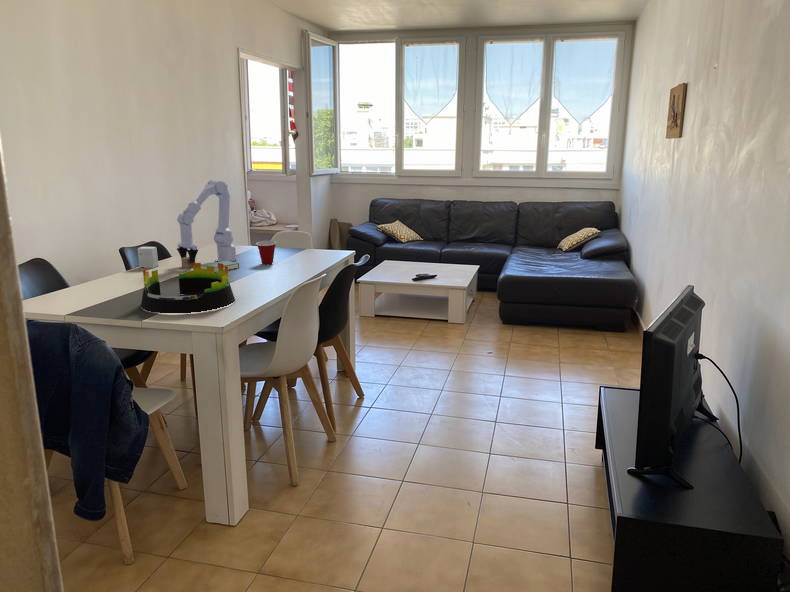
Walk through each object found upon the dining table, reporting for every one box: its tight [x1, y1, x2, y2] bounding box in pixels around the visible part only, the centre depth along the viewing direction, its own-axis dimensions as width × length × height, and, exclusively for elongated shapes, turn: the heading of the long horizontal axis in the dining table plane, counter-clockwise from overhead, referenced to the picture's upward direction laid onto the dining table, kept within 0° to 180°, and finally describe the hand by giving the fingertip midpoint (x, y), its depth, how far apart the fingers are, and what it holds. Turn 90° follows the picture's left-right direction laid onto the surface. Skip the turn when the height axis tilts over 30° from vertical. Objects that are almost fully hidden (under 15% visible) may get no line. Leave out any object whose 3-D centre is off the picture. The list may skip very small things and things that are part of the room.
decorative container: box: [140, 262, 236, 313], centre depth 249 cm, size 37×37×15 cm
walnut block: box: [180, 256, 193, 269], centre depth 325 cm, size 5×5×5 cm
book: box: [201, 260, 240, 273], centre depth 320 cm, size 16×12×3 cm
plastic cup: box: [255, 240, 277, 265], centre depth 333 cm, size 11×11×12 cm
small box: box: [137, 246, 159, 269], centre depth 322 cm, size 8×6×10 cm
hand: (188, 261), depth 324 cm, fingers open, 7 cm apart
